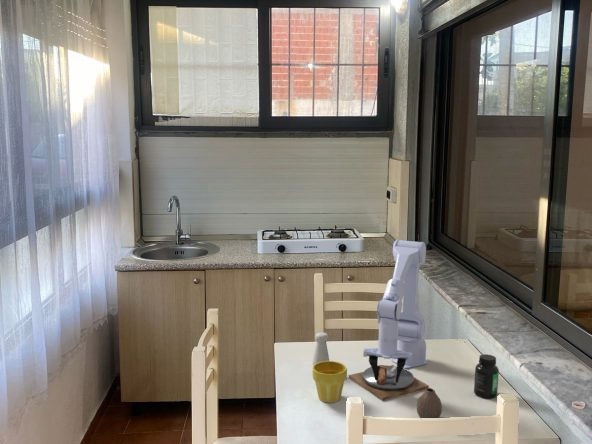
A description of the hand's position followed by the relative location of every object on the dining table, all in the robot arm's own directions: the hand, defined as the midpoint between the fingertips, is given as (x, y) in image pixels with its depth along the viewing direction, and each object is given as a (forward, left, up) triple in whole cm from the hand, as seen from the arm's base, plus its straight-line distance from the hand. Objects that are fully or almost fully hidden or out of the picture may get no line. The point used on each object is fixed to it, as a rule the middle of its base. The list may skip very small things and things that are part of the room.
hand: (386, 380), depth 184 cm
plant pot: (+18, -5, -4) cm, 19 cm away
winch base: (-4, -5, -4) cm, 7 cm away
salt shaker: (+10, -23, -4) cm, 25 cm away
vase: (0, +19, -4) cm, 20 cm away
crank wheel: (-4, -5, -2) cm, 7 cm away
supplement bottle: (-26, +15, -4) cm, 31 cm away
